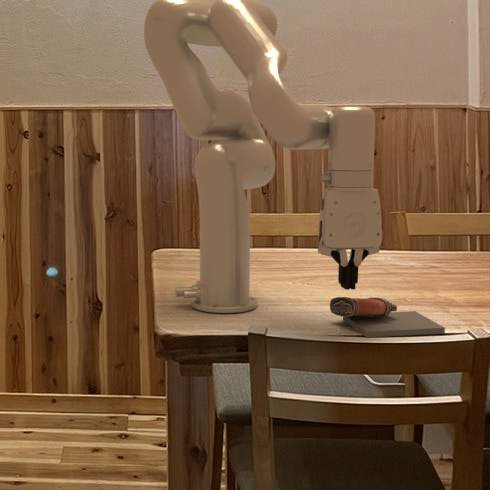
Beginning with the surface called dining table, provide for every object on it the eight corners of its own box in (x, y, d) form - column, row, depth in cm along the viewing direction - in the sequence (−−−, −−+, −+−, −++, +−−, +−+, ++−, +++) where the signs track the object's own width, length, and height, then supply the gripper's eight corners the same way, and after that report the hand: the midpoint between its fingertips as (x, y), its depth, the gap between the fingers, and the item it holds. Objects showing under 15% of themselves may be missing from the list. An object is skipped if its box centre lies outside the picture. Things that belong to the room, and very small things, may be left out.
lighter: (353, 318, 135) (402, 318, 139) (354, 298, 135) (403, 299, 140) (329, 314, 143) (376, 315, 147) (330, 295, 143) (377, 296, 147)
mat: (366, 337, 133) (367, 331, 133) (342, 319, 144) (342, 314, 144) (444, 333, 136) (444, 327, 136) (414, 316, 147) (415, 311, 147)
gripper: (314, 183, 129) (312, 294, 132) (401, 181, 132) (397, 290, 135) (301, 179, 136) (299, 285, 139) (384, 178, 139) (380, 282, 142)
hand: (347, 287), depth 137 cm, fingers closed
